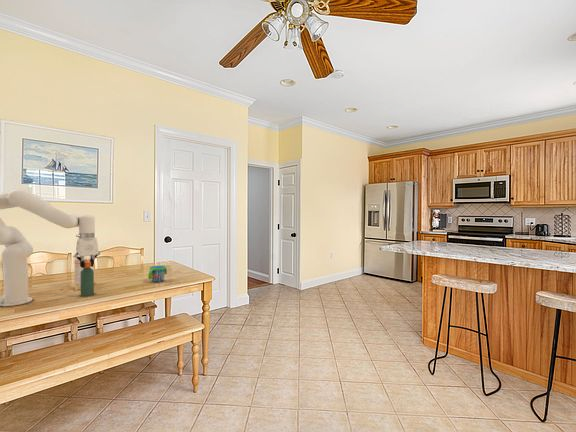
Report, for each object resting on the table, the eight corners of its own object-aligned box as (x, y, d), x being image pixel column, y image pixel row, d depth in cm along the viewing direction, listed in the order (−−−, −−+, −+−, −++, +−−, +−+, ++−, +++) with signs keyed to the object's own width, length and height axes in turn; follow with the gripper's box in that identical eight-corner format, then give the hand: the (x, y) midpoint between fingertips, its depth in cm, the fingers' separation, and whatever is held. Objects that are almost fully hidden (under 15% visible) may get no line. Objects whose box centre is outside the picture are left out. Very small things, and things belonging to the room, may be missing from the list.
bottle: (83, 297, 161) (82, 264, 161) (78, 295, 165) (78, 263, 164) (95, 294, 166) (95, 262, 166) (91, 292, 170) (91, 261, 170)
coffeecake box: (82, 284, 188) (82, 255, 188) (94, 283, 191) (94, 254, 190) (74, 290, 174) (74, 259, 174) (87, 289, 177) (87, 258, 176)
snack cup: (161, 277, 207) (161, 264, 207) (172, 279, 203) (172, 265, 203) (142, 282, 193) (142, 268, 193) (154, 284, 189) (154, 269, 189)
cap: (84, 268, 162) (84, 263, 162) (81, 267, 165) (81, 262, 165) (92, 267, 166) (92, 262, 166) (89, 266, 168) (89, 261, 168)
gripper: (72, 237, 156) (72, 270, 156) (105, 235, 169) (105, 265, 170) (67, 236, 160) (67, 268, 160) (100, 234, 174) (100, 264, 174)
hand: (87, 266), depth 165 cm, fingers closed on cap, 3 cm apart
